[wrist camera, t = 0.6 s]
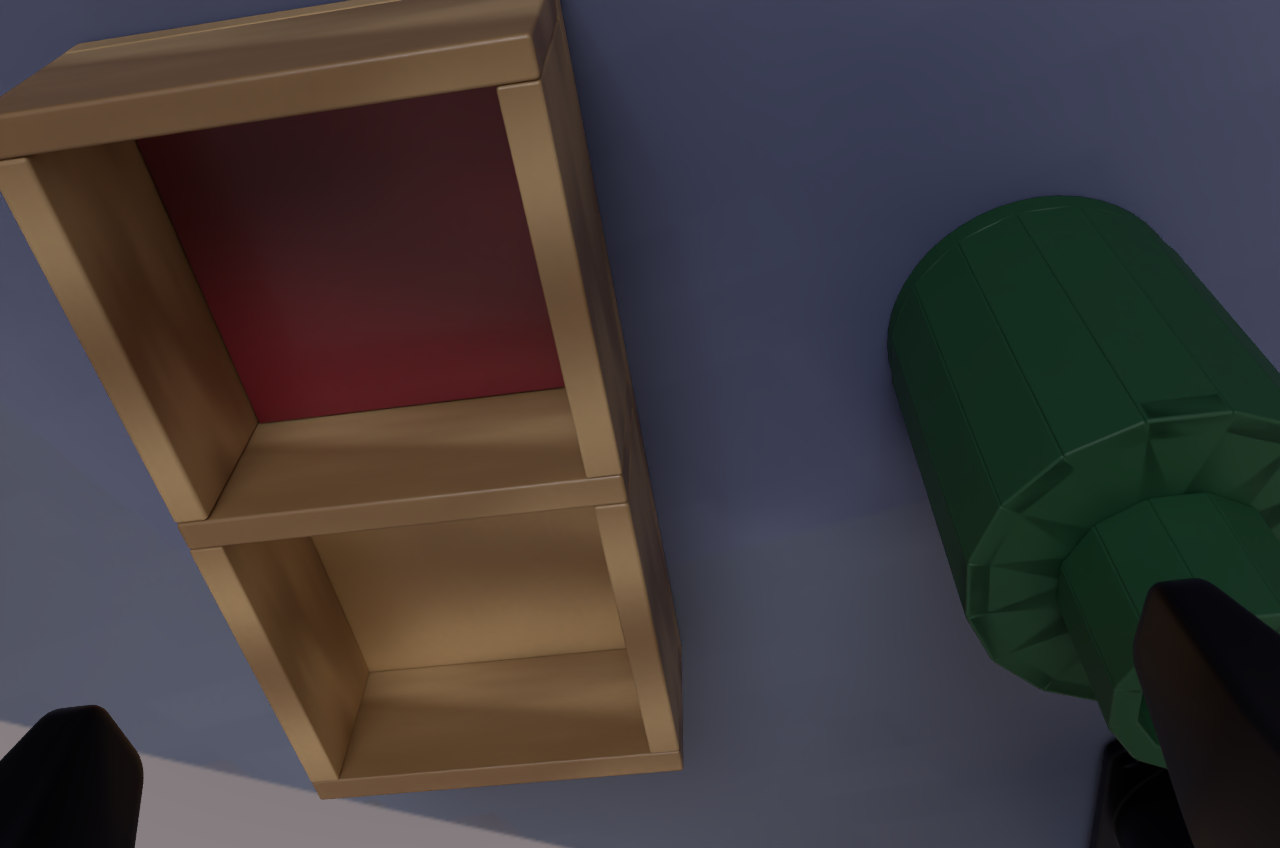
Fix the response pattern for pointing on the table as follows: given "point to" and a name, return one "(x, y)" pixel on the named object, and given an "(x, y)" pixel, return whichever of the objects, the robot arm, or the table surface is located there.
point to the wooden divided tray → (373, 375)
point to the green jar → (1085, 440)
